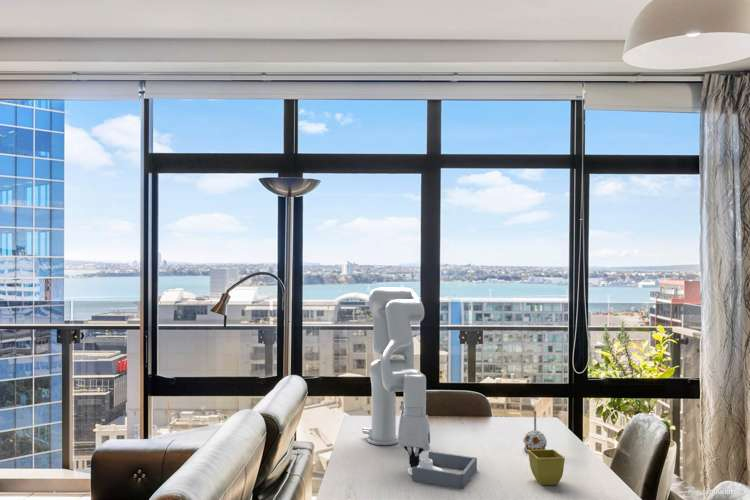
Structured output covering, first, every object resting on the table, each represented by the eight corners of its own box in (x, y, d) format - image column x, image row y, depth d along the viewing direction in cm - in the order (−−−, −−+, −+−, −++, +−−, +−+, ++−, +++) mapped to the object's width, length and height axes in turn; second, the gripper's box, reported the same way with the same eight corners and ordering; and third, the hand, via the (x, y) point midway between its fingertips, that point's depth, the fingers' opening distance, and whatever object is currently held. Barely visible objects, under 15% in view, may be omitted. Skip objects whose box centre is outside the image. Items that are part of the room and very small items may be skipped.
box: (412, 480, 175) (412, 467, 175) (429, 462, 192) (429, 451, 192) (463, 488, 169) (463, 475, 169) (476, 469, 185) (476, 457, 185)
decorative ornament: (520, 452, 205) (520, 411, 205) (530, 447, 210) (530, 407, 211) (540, 457, 199) (540, 414, 200) (550, 452, 205) (549, 411, 206)
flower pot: (527, 477, 179) (527, 449, 179) (554, 477, 179) (553, 448, 180) (538, 488, 170) (537, 458, 170) (565, 487, 171) (565, 457, 171)
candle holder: (411, 481, 175) (412, 467, 176) (403, 468, 187) (404, 454, 188) (448, 479, 177) (448, 465, 178) (438, 466, 189) (438, 453, 189)
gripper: (389, 410, 185) (389, 467, 184) (432, 415, 179) (432, 473, 178) (397, 406, 192) (397, 460, 191) (439, 410, 186) (439, 466, 185)
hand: (414, 466), depth 184 cm, fingers closed
